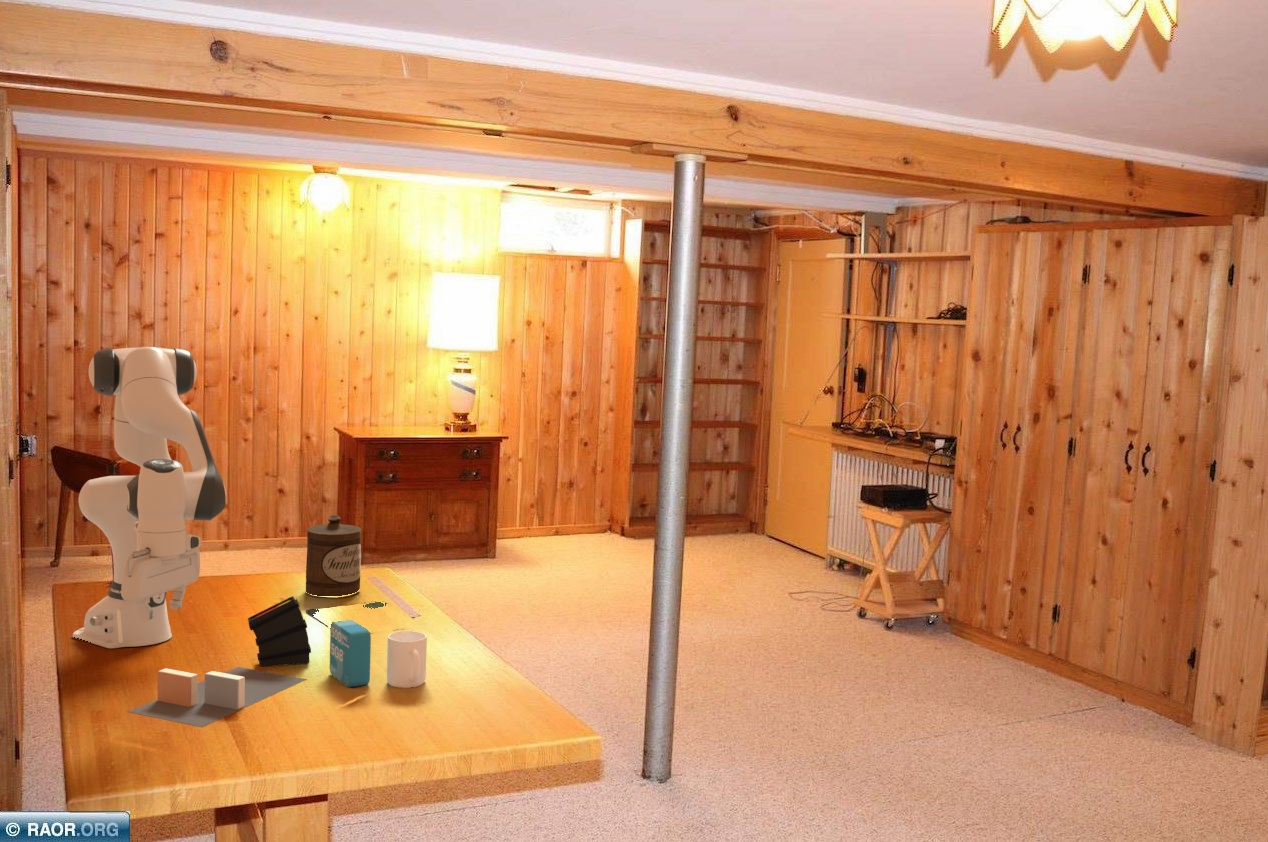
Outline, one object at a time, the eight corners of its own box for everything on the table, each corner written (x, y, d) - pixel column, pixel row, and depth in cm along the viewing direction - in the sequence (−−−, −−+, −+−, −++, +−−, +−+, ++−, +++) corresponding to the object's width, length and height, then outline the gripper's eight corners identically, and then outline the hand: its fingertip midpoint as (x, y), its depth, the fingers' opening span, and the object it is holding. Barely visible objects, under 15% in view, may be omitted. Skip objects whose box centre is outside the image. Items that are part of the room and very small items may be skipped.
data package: (329, 673, 252) (330, 620, 251) (348, 670, 255) (349, 618, 254) (350, 689, 242) (351, 634, 241) (370, 686, 245) (371, 631, 244)
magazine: (324, 655, 259) (295, 598, 255) (269, 684, 255) (239, 626, 252) (322, 651, 262) (294, 594, 259) (268, 679, 259) (238, 622, 255)
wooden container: (332, 601, 313) (334, 522, 311) (294, 592, 320) (295, 515, 318) (371, 591, 326) (372, 515, 324) (333, 583, 333) (334, 508, 331)
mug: (435, 691, 243) (437, 644, 243) (397, 696, 240) (398, 648, 239) (419, 674, 254) (420, 629, 253) (382, 678, 250) (383, 632, 249)
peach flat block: (157, 700, 229) (157, 671, 228) (165, 697, 231) (165, 668, 230) (189, 706, 226) (189, 677, 226) (197, 703, 228) (197, 674, 228)
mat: (127, 714, 222) (127, 711, 222) (238, 669, 252) (238, 666, 252) (201, 730, 216) (201, 727, 216) (306, 681, 246) (306, 679, 246)
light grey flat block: (204, 703, 229) (204, 673, 228) (212, 699, 231) (212, 670, 230) (237, 709, 226) (237, 680, 225) (244, 706, 228) (244, 676, 227)
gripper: (142, 554, 211) (142, 628, 212) (206, 536, 231) (205, 604, 232) (112, 552, 212) (112, 625, 213) (177, 534, 232) (177, 601, 233)
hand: (161, 614), depth 222 cm, fingers open, 8 cm apart
